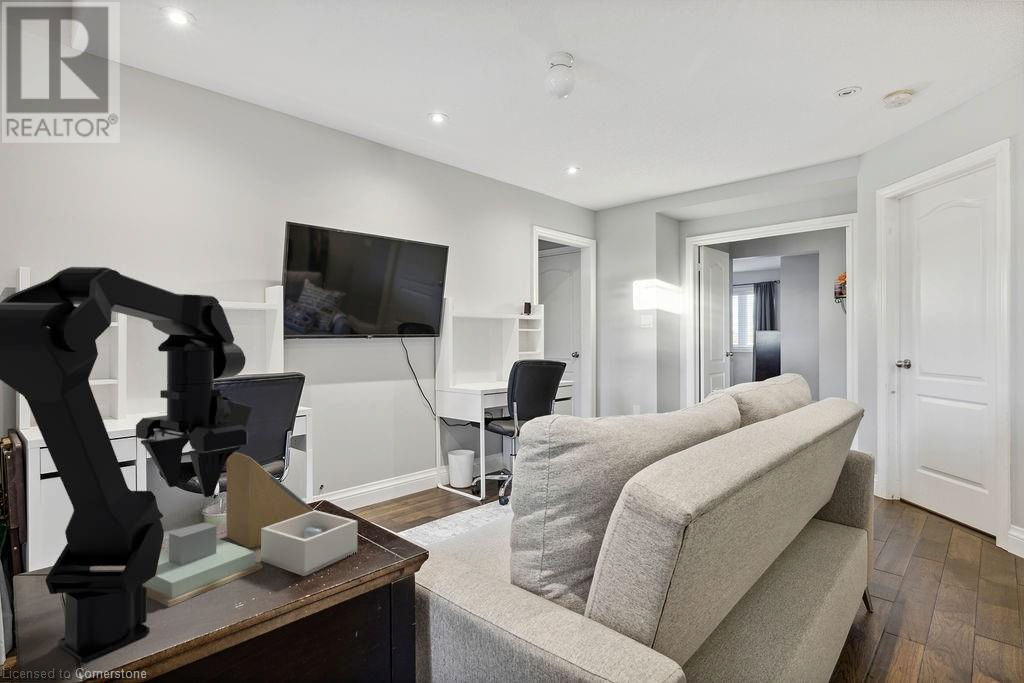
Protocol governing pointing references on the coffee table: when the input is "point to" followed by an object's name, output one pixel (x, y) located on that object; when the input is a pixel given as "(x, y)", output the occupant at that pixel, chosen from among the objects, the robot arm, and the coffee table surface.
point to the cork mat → (172, 601)
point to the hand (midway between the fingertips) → (190, 491)
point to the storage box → (308, 542)
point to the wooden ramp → (256, 500)
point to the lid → (197, 560)
